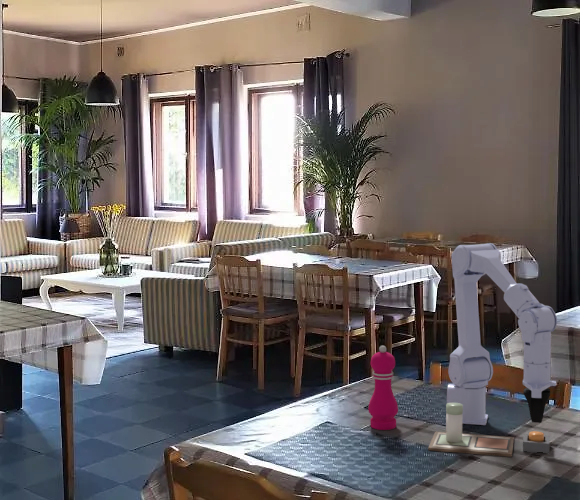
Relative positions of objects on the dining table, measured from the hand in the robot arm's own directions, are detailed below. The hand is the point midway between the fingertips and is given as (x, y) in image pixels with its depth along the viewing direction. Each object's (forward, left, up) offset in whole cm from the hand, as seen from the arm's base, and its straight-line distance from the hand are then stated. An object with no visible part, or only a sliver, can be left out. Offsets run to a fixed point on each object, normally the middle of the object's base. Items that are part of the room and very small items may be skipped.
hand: (536, 421), depth 190 cm
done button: (0, 0, -5) cm, 5 cm away
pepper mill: (-36, +8, -6) cm, 38 cm away
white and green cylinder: (-18, -1, -5) cm, 19 cm away
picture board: (-14, -1, -6) cm, 15 cm away
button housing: (0, 0, -6) cm, 6 cm away
